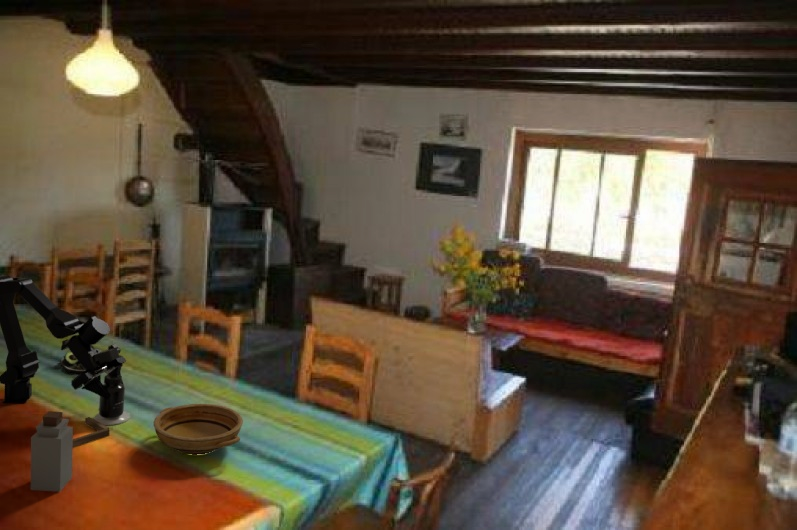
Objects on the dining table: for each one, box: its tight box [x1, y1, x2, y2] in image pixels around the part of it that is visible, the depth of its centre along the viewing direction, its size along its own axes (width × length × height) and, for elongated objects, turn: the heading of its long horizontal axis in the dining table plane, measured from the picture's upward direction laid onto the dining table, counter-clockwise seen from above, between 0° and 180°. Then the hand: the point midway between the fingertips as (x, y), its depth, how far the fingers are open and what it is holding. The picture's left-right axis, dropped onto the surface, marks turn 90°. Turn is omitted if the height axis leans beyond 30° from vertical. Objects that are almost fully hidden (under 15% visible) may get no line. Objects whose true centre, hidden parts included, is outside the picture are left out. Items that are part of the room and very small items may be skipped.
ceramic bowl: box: [153, 403, 244, 456], centre depth 183 cm, size 30×24×8 cm
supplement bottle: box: [98, 374, 126, 418], centre depth 194 cm, size 7×7×12 cm
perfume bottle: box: [30, 410, 74, 493], centre depth 156 cm, size 7×7×18 cm
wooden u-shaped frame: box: [73, 416, 111, 448], centre depth 183 cm, size 11×12×2 cm
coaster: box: [93, 410, 131, 426], centre depth 196 cm, size 10×10×1 cm
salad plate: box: [60, 351, 85, 375], centre depth 237 cm, size 19×18×5 cm
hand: (116, 394), depth 194 cm, fingers closed on supplement bottle, 7 cm apart
